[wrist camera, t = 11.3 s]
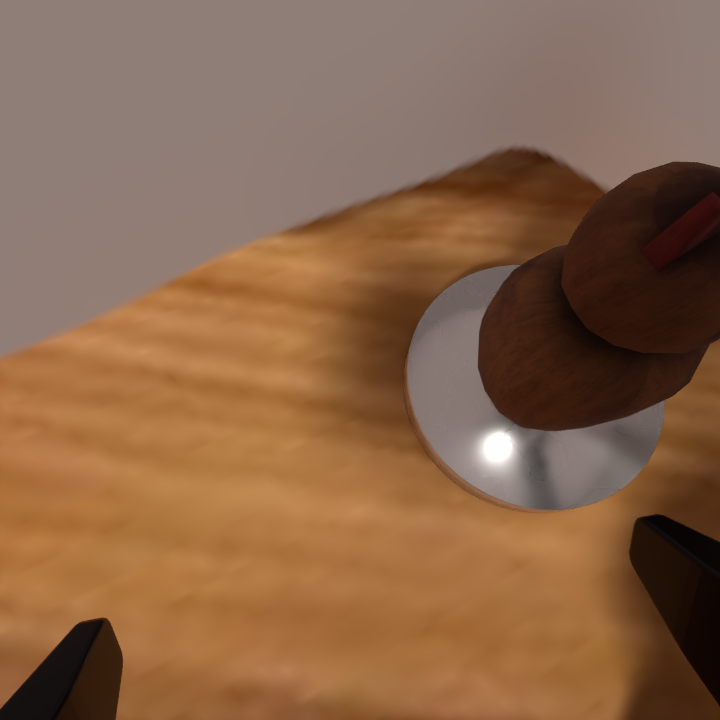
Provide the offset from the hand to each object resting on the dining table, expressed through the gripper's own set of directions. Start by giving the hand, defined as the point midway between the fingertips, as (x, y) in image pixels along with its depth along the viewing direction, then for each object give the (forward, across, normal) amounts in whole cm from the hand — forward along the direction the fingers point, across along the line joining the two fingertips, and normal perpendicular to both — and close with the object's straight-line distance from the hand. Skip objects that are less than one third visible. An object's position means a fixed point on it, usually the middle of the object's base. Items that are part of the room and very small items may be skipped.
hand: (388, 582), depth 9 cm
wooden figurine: (+12, -9, +4) cm, 16 cm away
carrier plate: (+13, -9, +4) cm, 17 cm away
